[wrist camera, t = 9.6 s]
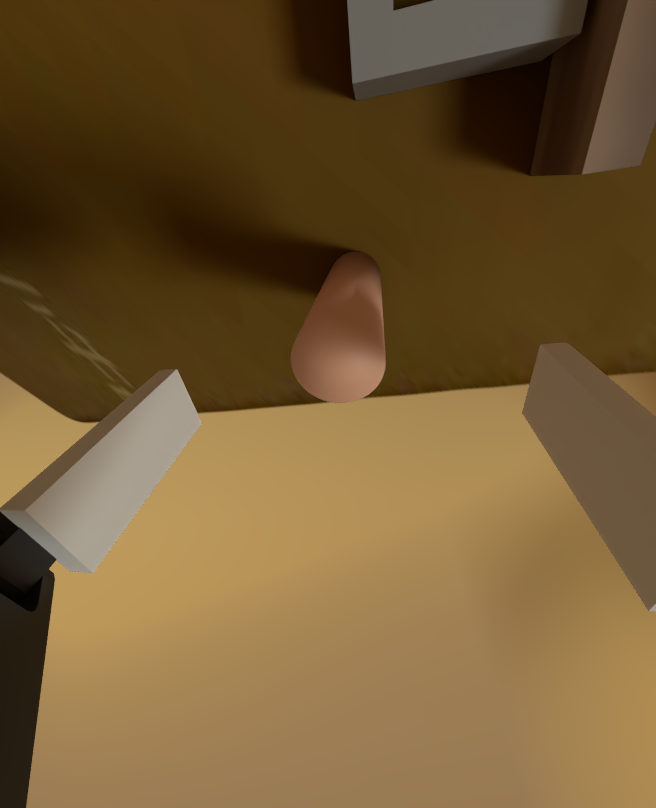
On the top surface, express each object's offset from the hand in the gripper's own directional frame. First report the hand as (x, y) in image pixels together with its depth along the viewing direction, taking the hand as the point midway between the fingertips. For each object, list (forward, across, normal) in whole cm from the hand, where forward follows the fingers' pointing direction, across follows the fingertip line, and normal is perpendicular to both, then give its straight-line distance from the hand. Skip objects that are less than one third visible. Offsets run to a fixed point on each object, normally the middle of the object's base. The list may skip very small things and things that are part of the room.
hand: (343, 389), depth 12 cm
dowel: (+16, 0, 0) cm, 16 cm away
